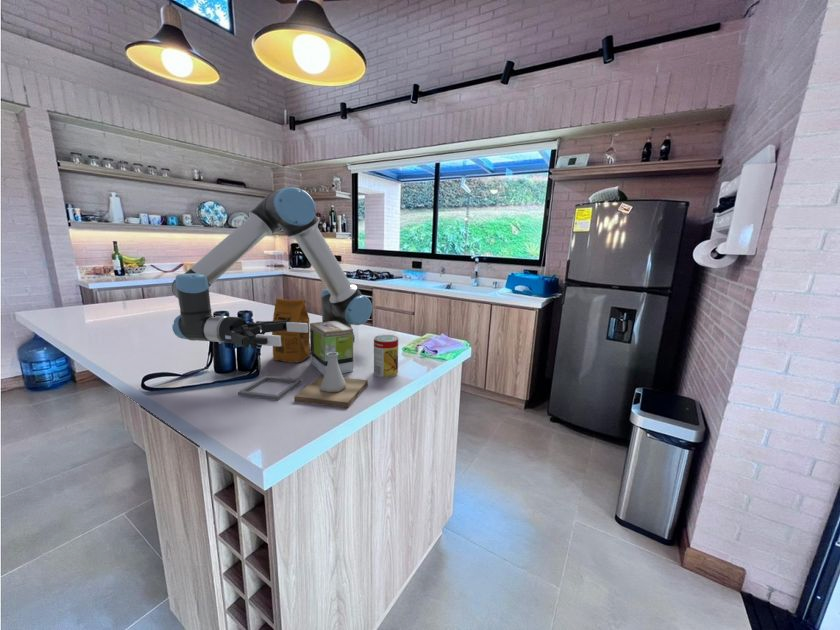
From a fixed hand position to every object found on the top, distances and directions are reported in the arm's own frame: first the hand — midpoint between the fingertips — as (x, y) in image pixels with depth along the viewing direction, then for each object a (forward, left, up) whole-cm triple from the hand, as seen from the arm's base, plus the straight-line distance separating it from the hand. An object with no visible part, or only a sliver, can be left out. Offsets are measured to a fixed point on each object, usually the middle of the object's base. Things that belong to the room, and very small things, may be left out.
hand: (294, 334), depth 91 cm
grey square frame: (+2, -7, -16) cm, 18 cm away
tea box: (-19, +2, -17) cm, 25 cm away
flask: (0, +11, -15) cm, 19 cm away
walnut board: (0, +11, -16) cm, 20 cm away
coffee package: (-23, -16, -17) cm, 33 cm away
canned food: (-18, +21, -17) cm, 32 cm away
